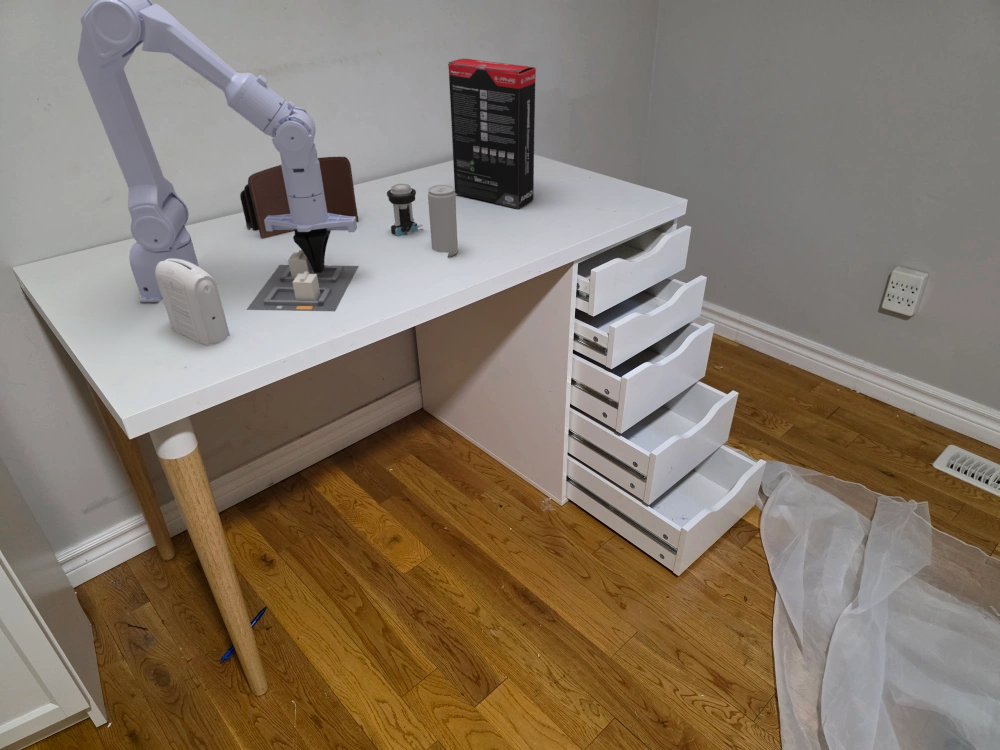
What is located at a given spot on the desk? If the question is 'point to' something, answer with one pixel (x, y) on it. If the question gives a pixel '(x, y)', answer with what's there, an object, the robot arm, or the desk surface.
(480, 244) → the desk surface
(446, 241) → the beverage can
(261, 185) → the letter holder
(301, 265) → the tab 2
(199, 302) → the photo printer
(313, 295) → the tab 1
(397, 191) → the push button
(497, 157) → the graphics card box
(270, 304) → the switch bank
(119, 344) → the desk surface
